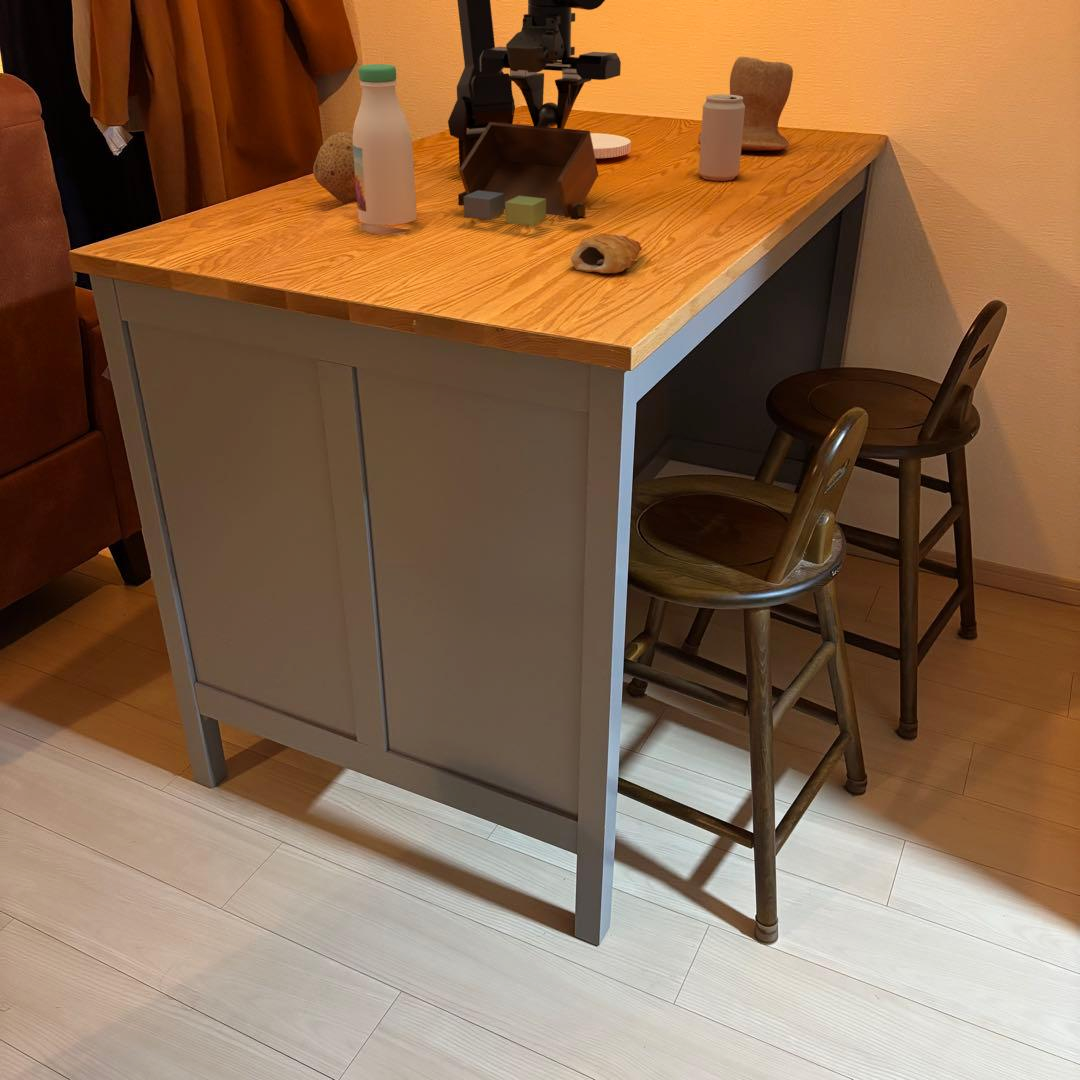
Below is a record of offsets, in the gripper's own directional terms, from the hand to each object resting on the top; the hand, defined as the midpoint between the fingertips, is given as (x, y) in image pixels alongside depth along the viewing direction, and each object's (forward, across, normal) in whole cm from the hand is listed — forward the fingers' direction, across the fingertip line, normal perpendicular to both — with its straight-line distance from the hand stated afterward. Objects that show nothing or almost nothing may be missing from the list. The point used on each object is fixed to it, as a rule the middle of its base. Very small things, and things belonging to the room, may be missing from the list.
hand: (548, 130), depth 148 cm
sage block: (+8, +3, -11) cm, 15 cm away
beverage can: (+10, +16, +29) cm, 34 cm away
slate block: (+8, -3, -11) cm, 14 cm away
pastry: (+11, +19, -23) cm, 32 cm away
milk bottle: (+11, -14, -20) cm, 27 cm away
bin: (+7, 0, -2) cm, 7 cm away
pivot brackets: (+10, 0, -9) cm, 14 cm away
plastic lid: (+10, -9, +35) cm, 37 cm away
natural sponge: (+10, -26, -12) cm, 31 cm away
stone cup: (+10, +13, +53) cm, 55 cm away
